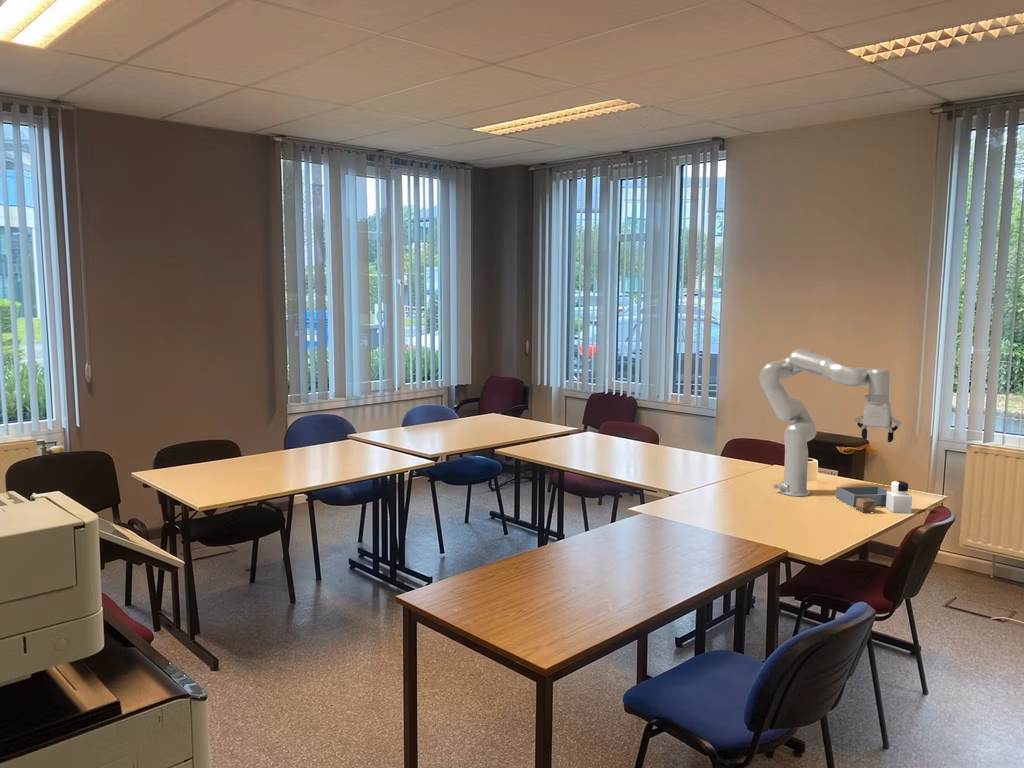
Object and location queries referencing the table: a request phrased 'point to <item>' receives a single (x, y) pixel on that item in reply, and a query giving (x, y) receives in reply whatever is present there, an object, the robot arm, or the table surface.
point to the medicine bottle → (899, 498)
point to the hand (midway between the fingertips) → (877, 440)
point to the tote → (862, 494)
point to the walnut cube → (865, 505)
